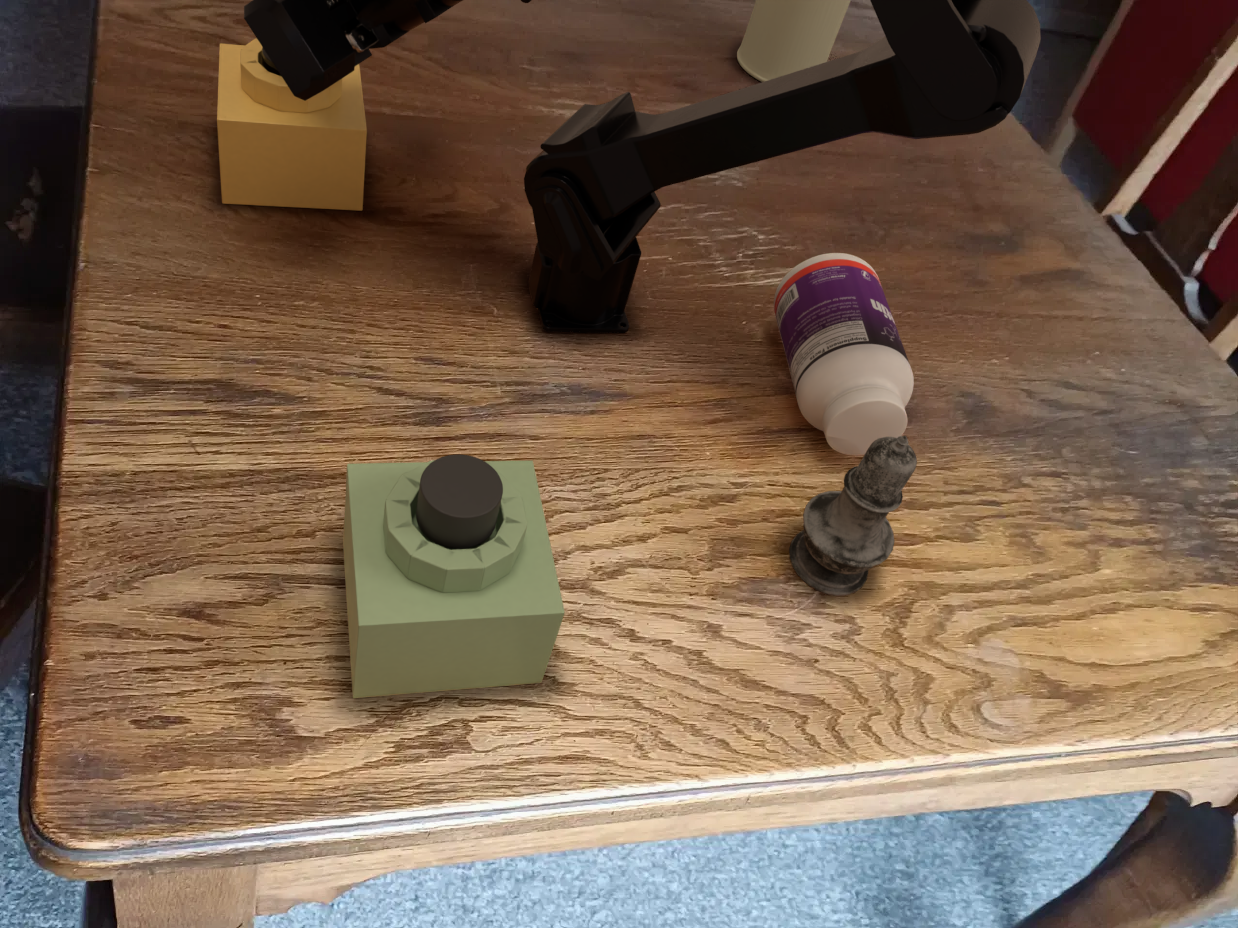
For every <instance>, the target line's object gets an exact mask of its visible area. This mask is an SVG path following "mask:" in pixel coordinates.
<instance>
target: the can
mask: <svg viewBox="0 0 1238 928" xmlns="http://www.w3.org/2000/svg"><path fill="white" fill-rule="evenodd" d="M851 1H852V0H755V2H754V5H753V8H752V12H751V15H750V17H749V21H748V23H747V26H746V30H745V33H744V35H743V38H742V40H741V44H740V46H739V48H738V49H737V52H736V59H737V62H738V64H739V66H740V67H741V68H742V69H743V70H744V71H745V72H746V73H747V74H748V75H750V76H751V77H752V78H754V79H755V80H757V81H759V82H760V83H762V82H765V81H768V80H771V79H774V78H777V77H781V76H784V75H787V74H790V73H793V72H796V71H800V70H803V69H806V68H809V67H812V66H815V65H819V64H822V63H825V62H828V61H829V60H828V59H829V58H830V55H831V52H832V49H833V47H834V45H835V41H836V39H837V37H838V34H839V31H840V28H841V26H842V24H843V21H844V19H845V16H846V14H847V11H848V10H849V9H848V8H849V6H850V4H851Z"/></svg>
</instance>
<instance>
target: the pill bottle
mask: <svg viewBox="0 0 1238 928" xmlns="http://www.w3.org/2000/svg"><path fill="white" fill-rule="evenodd" d="M773 311H774V316H775V321H776V324H777V327H778V331H779V335H780V340H781V343H782V346H783V350H784V355H785V358H786V362H787V365H788V369H789V374H790V377H791V381H792V386H793V389H794V394H795V397H796V401H797V405H798V409H799V411H800V413H801V415H802V416H803V418H804V419H805V420H806V421H807V422H808V424H810V425H811V426H812V427H814V428H815V429H816V430H818V431H820V432H821V431H822V432H823V433H824V437H825V440H826V442H827V445H829V447H830V448H831V449H833V450H834V451H835V452H838V453H840V454H843V455H846V456H856V457H857V456H864V455H865V453H866V451H867V450H868V448H869V446H870V445H871V444H872V443H873V442H874V441H875V440H877V439H878V438H882V437H895V438H898V437H900V436H903V435H904V433H905V432H906V429H907V427H908V415H907V411H906V407H907V406H908V404H909V402H910V399H911V397H912V395H913V391H914V385H915V378H914V372H913V370H912V367H911V363H910V361H909V358H908V355H907V353H906V350H905V347H904V345H903V341H902V339H901V337H900V334H899V331H898V328H897V325H896V322H895V320H894V316H893V314H892V311H891V308H890V306H889V303H888V300H887V297H886V294H885V292H884V289H883V286H882V283H881V280H880V278H879V276H878V273H877V272H876V271H875V269H874V268H873V267H872V266H871V264H869V263H868V262H866V261H865V260H864V259H863V258H860V257H859V256H856V255H853V254H850V253H846V252H845V253H844V252H829V253H823V254H818V255H815V256H812V257H810V258H808V259H805V260H803V261H802V262H800V263H798V264H796V265H795V266H793V268H791V269H790V270H789V271H788V272H786V274H785V275H784V276H783V277H782V279H781V280H780V282H779V283H778V285H777V288H776V290H775V293H774V296H773Z"/></svg>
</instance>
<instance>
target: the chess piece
mask: <svg viewBox="0 0 1238 928" xmlns="http://www.w3.org/2000/svg"><path fill="white" fill-rule="evenodd" d="M858 463H859V464H858V465H856V466H853V467H851V468H849V469H848V470H847V471H846V473H845V474H844V477H843V488H842V489H841V490H827V491H824V492H820V493H817V494H816V495H815V496H813V497H811V498H810V499H809V501H808V502H807V504H806V505H805V507H804V510H803V514H802V517H803V518H802V520H803V525H802V526H803V529H802V530H801V531H799V532H798V533H796V535H795V536H794V537H793V538H792V539H791V542H790V545H789V548H788V553H789V554H788V555H789V557H788V558H789V560H790V564H791V567H792V568H793V570H794V572H795V573H796V574H797V576H798V577H799V578H800V579H801V580H802V581H803V582H804V583H805V584H806V585H808V586H810V587H811V588H812V589H814V590H816V591H818V592H821V593H822V594H824V595H830V596H835V597H841V596H848V595H849V596H850V595H852V594H855V593H856V592H858V591H859V590H861V589H862V588H863V586H864V585H865V584H866V582H867V581H868V576H869V570H870V569H873V568H874V567H876V566H879V565H881V564H882V563H883V562H885V561H887V560H888V559H889V557H890V555H891V554H892V553H893V551H894V546H895V536H894V531H893V527H892V526H891V524H890V521H889V520H888V519H887V516H888V514H889V513H891V512H894V511H895V510H897V509H899V508H900V506H901V505H902V502H903V498H904V497H903V490H904V487H905V486H906V485H907V483H908V482H909V480H910V478H911V477H912V475H913V474H914V473H915V471H916V468H917V464H918V459H917V455H916V452H915V450H914V449H913V447H912V446H911V445H910V444H909V439H908V436H907V435H902V436H900V437H898V438H895V437H882V438H878V439H877V440H875V441H874V442H873V443H872V444H871V445H870V446H869V448H868V450H867V451H866V453H865V455H863V457H862V458H861V460H860V462H858Z"/></svg>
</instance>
